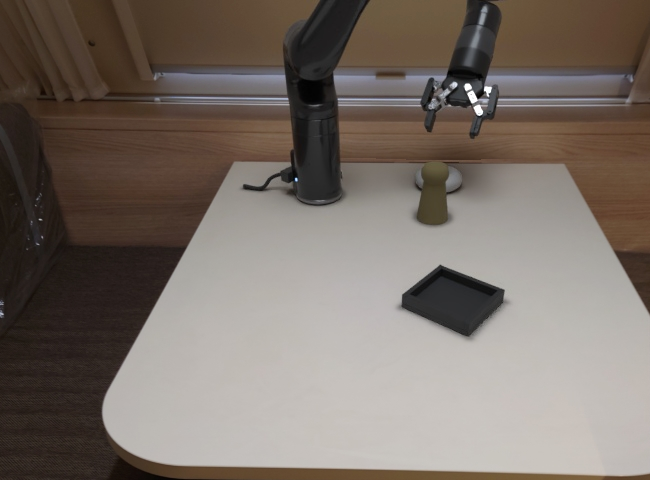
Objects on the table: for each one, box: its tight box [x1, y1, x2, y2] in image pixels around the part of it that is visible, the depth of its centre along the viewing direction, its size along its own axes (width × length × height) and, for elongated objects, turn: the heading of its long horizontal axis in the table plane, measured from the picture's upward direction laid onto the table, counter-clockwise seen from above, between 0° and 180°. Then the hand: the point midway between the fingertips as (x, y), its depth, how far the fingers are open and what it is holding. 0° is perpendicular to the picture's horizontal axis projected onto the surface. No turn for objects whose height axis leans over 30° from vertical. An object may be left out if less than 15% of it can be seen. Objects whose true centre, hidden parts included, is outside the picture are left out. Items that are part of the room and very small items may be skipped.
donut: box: [414, 165, 463, 193], centre depth 122 cm, size 10×4×10 cm
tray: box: [401, 264, 506, 337], centre depth 87 cm, size 12×11×2 cm
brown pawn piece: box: [416, 160, 449, 226], centre depth 108 cm, size 6×6×11 cm
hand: (449, 133), depth 109 cm, fingers open, 8 cm apart
